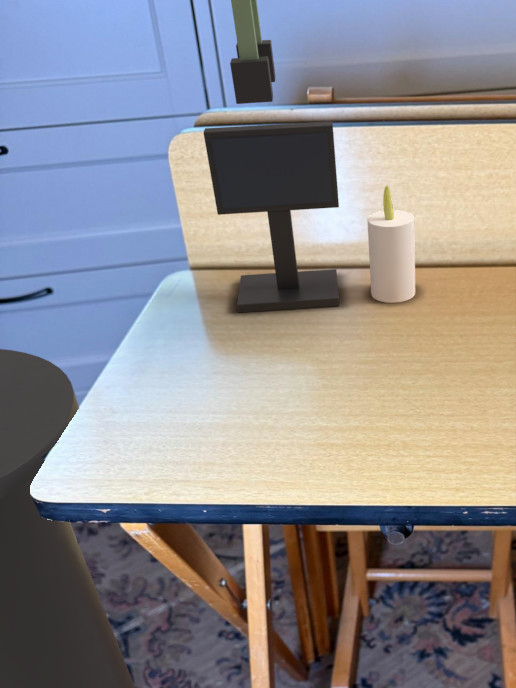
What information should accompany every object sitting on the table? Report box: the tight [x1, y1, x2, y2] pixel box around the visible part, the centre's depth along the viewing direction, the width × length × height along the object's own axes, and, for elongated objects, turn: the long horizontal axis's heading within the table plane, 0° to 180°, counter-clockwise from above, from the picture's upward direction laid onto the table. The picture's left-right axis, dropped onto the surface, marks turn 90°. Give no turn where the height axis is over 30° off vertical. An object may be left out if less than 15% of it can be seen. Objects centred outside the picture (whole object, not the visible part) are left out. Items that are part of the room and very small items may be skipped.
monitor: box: [203, 120, 340, 314], centre depth 106 cm, size 16×10×22 cm, turn 95°
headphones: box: [229, 0, 276, 105], centre depth 89 cm, size 4×12×11 cm, turn 5°
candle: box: [366, 185, 416, 304], centre depth 108 cm, size 6×6×15 cm
